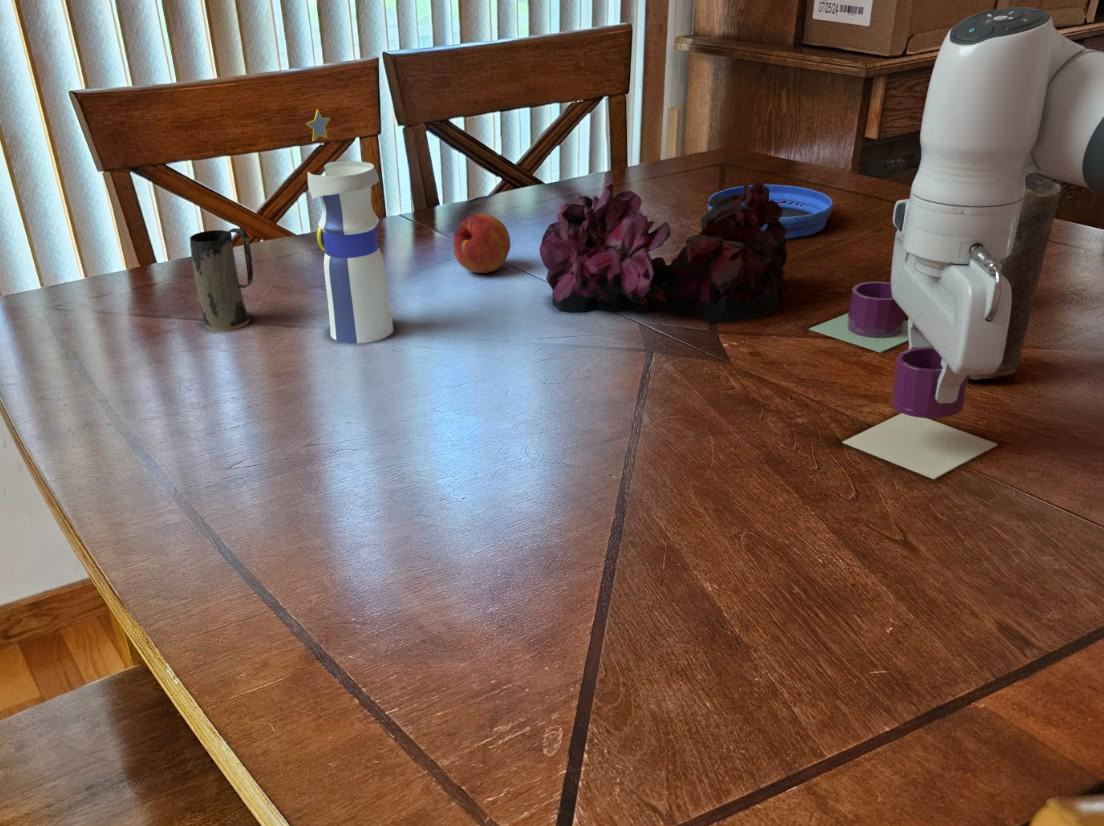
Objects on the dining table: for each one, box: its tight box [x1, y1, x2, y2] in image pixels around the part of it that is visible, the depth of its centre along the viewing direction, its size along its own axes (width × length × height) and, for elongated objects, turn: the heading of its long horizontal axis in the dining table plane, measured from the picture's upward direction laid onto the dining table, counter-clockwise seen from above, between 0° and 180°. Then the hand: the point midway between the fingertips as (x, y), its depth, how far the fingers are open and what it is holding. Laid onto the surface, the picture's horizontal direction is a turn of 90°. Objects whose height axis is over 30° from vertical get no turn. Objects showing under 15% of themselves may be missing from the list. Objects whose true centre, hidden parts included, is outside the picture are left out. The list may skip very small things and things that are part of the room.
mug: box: [189, 227, 254, 332], centre depth 135 cm, size 8×6×12 cm
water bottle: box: [305, 109, 394, 344], centre depth 127 cm, size 8×9×25 cm
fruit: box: [453, 212, 511, 274], centre depth 149 cm, size 8×8×8 cm
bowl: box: [707, 184, 834, 240], centre depth 164 cm, size 18×18×4 cm
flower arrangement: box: [539, 173, 788, 323], centre depth 135 cm, size 31×20×15 cm, turn 88°
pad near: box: [842, 413, 999, 480], centre depth 103 cm, size 10×10×1 cm
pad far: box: [809, 312, 909, 354], centre depth 128 cm, size 10×10×1 cm
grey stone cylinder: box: [968, 172, 1062, 381], centre depth 111 cm, size 8×7×20 cm
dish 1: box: [847, 281, 907, 338], centre depth 126 cm, size 6×6×4 cm
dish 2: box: [891, 346, 969, 419], centre depth 100 cm, size 6×6×4 cm
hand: (930, 382), depth 100 cm, fingers closed on dish 2, 6 cm apart
